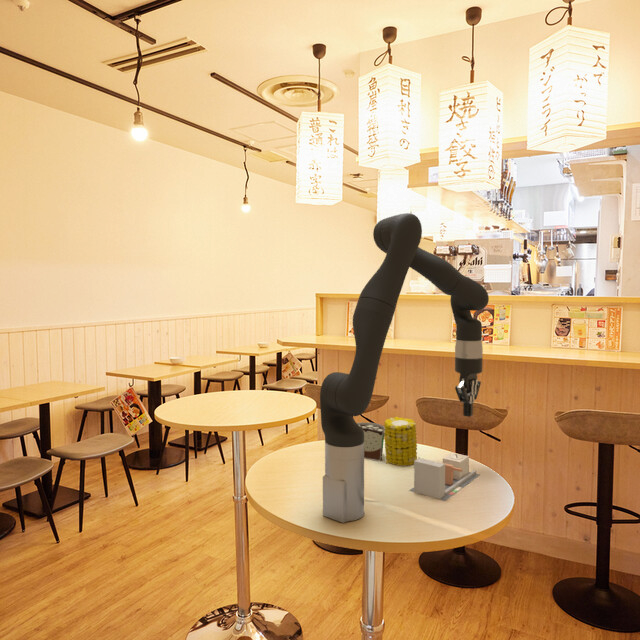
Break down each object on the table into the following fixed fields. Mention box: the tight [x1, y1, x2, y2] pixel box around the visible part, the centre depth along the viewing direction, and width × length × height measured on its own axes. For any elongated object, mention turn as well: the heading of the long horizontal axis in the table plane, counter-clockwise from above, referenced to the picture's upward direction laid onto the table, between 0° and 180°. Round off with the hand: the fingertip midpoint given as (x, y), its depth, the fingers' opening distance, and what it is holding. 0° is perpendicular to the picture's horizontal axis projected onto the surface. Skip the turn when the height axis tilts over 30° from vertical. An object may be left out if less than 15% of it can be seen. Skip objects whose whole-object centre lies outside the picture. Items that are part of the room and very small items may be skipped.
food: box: [383, 416, 418, 467], centre depth 147 cm, size 15×12×10 cm
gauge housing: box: [442, 452, 470, 480], centre depth 134 cm, size 9×5×5 cm, turn 140°
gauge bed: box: [408, 457, 481, 502], centre depth 130 cm, size 22×10×10 cm, turn 140°
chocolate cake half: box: [356, 422, 385, 462], centre depth 156 cm, size 12×6×10 cm, turn 58°
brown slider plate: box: [439, 461, 462, 485], centre depth 129 cm, size 1×7×5 cm, turn 50°
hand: (468, 415), depth 141 cm, fingers closed
